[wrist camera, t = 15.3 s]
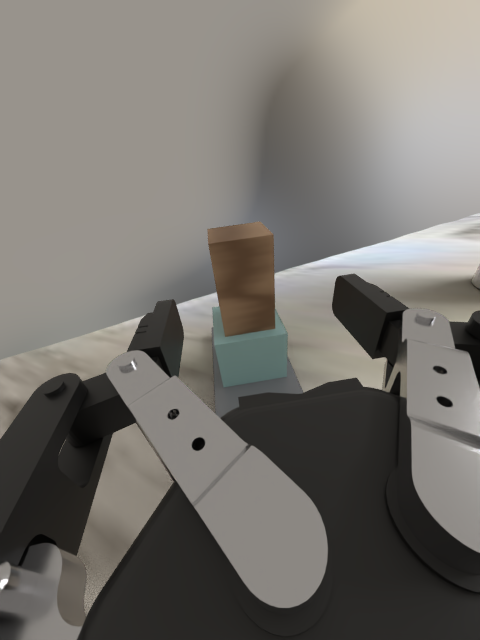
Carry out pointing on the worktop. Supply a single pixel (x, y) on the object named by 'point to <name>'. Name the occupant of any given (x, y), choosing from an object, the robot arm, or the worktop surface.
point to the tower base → (249, 389)
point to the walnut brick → (244, 276)
